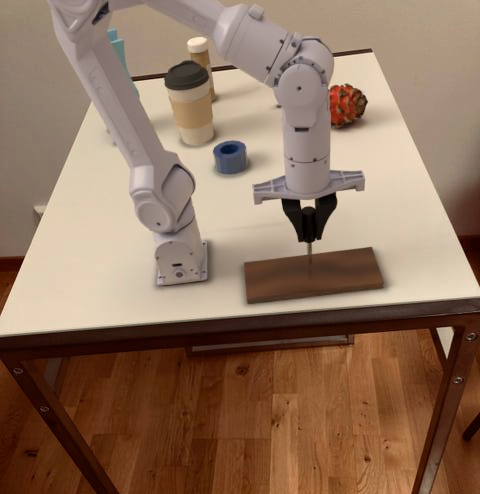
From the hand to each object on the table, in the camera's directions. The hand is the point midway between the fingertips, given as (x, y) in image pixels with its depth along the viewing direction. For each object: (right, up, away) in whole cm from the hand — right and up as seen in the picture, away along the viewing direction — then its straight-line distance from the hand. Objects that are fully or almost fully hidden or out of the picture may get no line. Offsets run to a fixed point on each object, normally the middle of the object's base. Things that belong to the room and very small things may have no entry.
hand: (309, 236), depth 73 cm
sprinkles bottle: (-18, +41, +50) cm, 67 cm away
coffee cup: (-19, +27, +38) cm, 50 cm away
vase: (-35, +31, +43) cm, 64 cm away
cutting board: (+1, -5, +5) cm, 7 cm away
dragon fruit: (+11, +29, +35) cm, 47 cm away
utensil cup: (-11, +18, +28) cm, 36 cm away
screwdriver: (+1, -3, +3) cm, 4 cm away
